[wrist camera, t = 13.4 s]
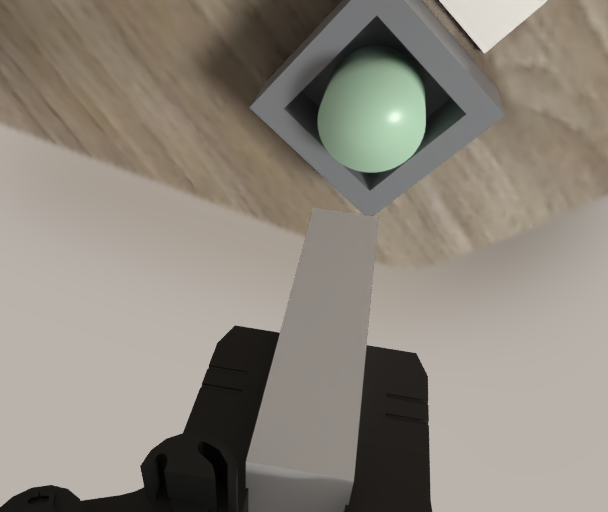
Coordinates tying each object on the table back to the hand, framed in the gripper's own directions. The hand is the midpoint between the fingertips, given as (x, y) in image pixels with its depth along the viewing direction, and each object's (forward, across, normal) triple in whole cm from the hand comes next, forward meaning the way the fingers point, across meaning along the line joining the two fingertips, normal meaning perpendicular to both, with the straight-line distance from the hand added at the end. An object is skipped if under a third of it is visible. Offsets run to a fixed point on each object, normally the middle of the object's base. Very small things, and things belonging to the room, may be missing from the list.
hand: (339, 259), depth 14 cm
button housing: (+14, 0, -1) cm, 14 cm away
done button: (+12, 0, -1) cm, 12 cm away
